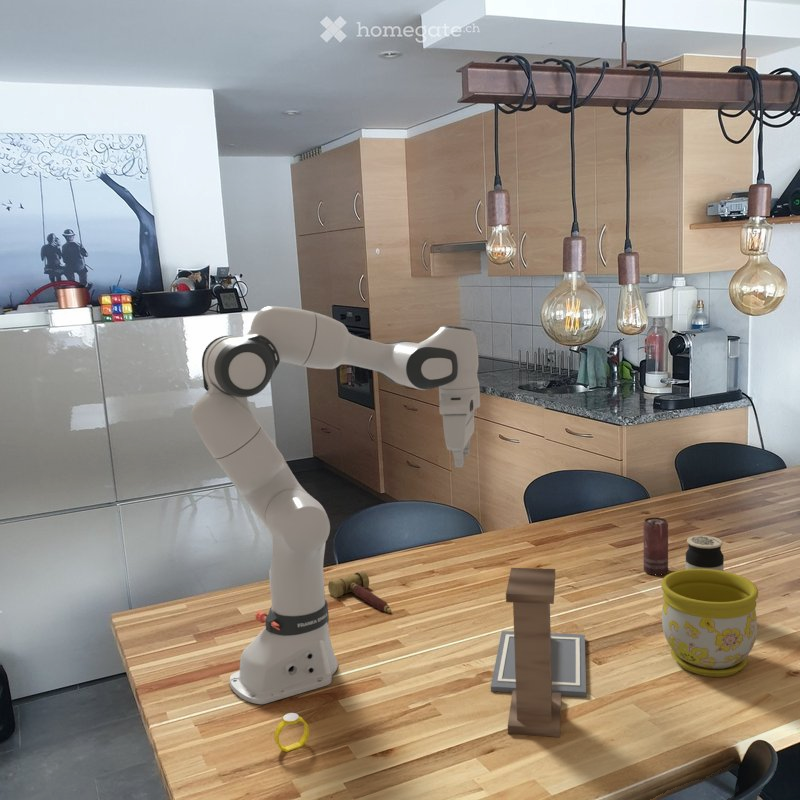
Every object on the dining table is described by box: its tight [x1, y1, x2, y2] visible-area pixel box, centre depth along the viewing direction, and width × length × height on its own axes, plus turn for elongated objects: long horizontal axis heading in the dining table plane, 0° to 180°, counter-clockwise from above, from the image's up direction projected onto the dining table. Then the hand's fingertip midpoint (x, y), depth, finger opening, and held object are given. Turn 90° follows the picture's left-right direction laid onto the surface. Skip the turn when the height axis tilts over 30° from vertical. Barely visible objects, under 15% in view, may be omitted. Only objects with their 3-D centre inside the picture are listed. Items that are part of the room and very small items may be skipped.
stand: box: [505, 567, 562, 738], centre depth 143 cm, size 12×9×26 cm
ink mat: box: [490, 630, 587, 698], centre depth 164 cm, size 24×18×1 cm
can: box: [643, 517, 669, 576], centre depth 207 cm, size 6×6×14 cm
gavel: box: [327, 570, 392, 613], centre depth 200 cm, size 21×5×10 cm
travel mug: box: [685, 535, 725, 571], centre depth 180 cm, size 8×8×18 cm
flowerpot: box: [660, 568, 759, 678], centre depth 160 cm, size 18×18×16 cm
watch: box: [273, 712, 310, 753], centre depth 139 cm, size 6×3×6 cm, turn 119°
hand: (462, 461), depth 176 cm, fingers open, 8 cm apart
